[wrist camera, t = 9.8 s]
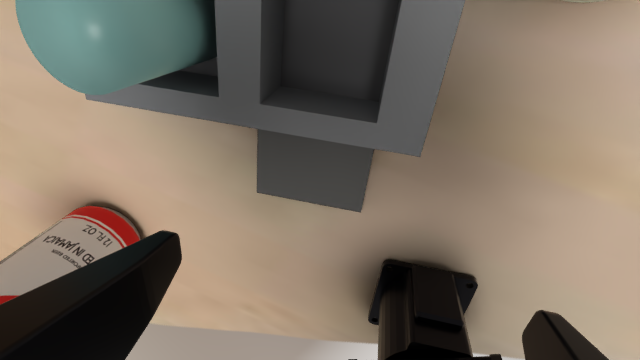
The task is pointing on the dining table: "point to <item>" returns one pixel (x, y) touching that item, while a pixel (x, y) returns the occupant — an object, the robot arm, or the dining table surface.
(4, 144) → the dining table surface
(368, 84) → the dock
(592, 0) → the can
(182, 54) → the plug
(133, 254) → the robot arm
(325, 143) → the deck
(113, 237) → the beer can
